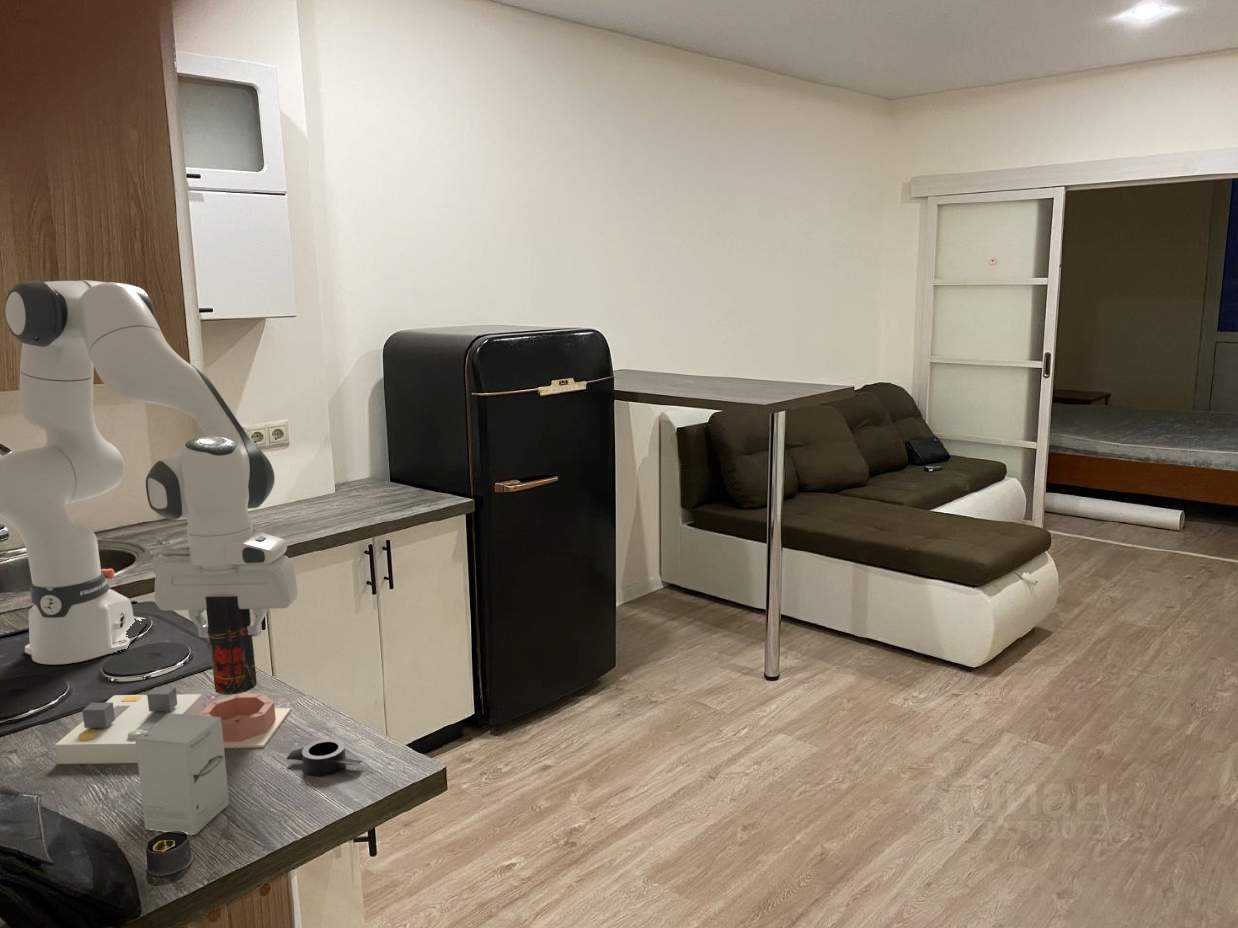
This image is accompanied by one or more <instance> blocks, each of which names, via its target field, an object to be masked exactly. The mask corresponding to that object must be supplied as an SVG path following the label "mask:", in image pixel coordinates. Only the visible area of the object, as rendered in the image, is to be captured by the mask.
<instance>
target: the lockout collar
mask: <svg viewBox="0 0 1238 928" xmlns="http://www.w3.org/2000/svg"><path fill="white" fill-rule="evenodd" d="M275 706H276V705H275V701H274V700H272V699H270V698H269V697H267V696H266V695H265V694H263V693H244V694H243V693H239V694H232V695H230V696H227V697H224V698H221V699H218V700H214V701H211V702H210V703H209V704H208V705H207V706H205V708H203V709H204V710H203V711H202V712H201V713H200V714H199V715H201V716H212V717H221V723H222V732H223V743H224V749H250V748H252V749H253V748H254V749H255V748H257V749H260V748H263V749H264V748H265V746H266V745H267V744H268V743H269V741H270V740H271V739H272V737H273V736H274V734H275V733H276V732H277V730H279V727H280V726H281V725H282V724H283V722H284V721H285V719H286V718H287V717H288V716H289V715H290V713H291V712H292V708H291V707H290V708H289V707H283V708H282V707H276V708H275Z"/></svg>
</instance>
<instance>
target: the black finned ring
mask: <svg viewBox="0 0 1238 928" xmlns="http://www.w3.org/2000/svg"><path fill="white" fill-rule="evenodd" d="M286 760H296V761H300V762H301V761H302V771H303V773H304V774H305V775H306V776H309V777H312V776H313V778H323V777H328V776H332V775H334V774H337V773H339V772H341V771H342V770H343V769H344V768H345V767H346V765H347V766H348V765H350V766H357V765H359V764H361V763H362V762H363V761H362V760H359V759H352V758H347V757H346V745H345V742H344V741H341V740H339V739H336V738H323V739H318V740H314V741H313V742H310V743H309V744H307V745H306V746H304V747H301V748H298V749H294V750H292V751H291V752H290V753H289V754H288V755H287V757H286Z"/></svg>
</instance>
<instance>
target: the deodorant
mask: <svg viewBox="0 0 1238 928" xmlns="http://www.w3.org/2000/svg"><path fill="white" fill-rule="evenodd" d="M206 605H207V610H205V611H206V618H207V619H206V621H207V623H208V629H209V637H208V638H209V646H210V647H209V648H210V654H211V665H212V673H213V682H214V691H215V693H216V694H219V695H223V696H229V695H230V696H233V695H236V694H243V693H246V692H248V691H250V690H252V689H254V688H255V687H256V686H257V684H258V682H257V671H256V661H255V652H254V651H255V650H254V649H255V648H254V639H253V636H248V632H249V631H248V630H247V626H248V625H249V624H250V623H251V622H252V620H251V609H239V606H238V596H230V597H206Z"/></svg>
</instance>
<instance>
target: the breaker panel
mask: <svg viewBox="0 0 1238 928" xmlns="http://www.w3.org/2000/svg"><path fill="white" fill-rule="evenodd" d="M176 696H177V705H176V706H175V707H174V708H173V709H172V710H171V711H149V706H148V697H147V694H119V695H118V694H116V695H115V694H114V695H113V696H112V697H110V698H109V699H108V700H107V701H105V702H104V703H113V708H114V716H115V720H114V721H113V722H112V723H111V724H110V725H109V726H108V727H106V728H85V727H84V720H82V722H80V723H79V724H78V725H77V726H75V727H74V728H73V729H71V731H69V732H68V733H67V734H66V735H65V736H63V737H62V738H61V739H60V740H59V741H58V742H56V743H55V744H54V747H55V748H54V749H55V755H56V761H57V765H75V764H77V765H78V764H79V765H80V764H81V765H82V764H84V765H85V764H88V765H89V764H90V765H91V764H138V759H137V751H136V742H135V739H136V738H138V737H140V736H141V735H142V734H144V733H145V732H147V731H148V730H150V729H151V728H153V727H154V726H156V725H157V724H159V723H160V722H161V721H163V720H164V719H166V718H167V717H169V716H170V715H172V714H174V713H175V714H187V715H199V714H200V713H201V712H202V711H203V710H204V709H205V708H204V701H203V693H198V694H197V693H193V694H189V693H187V694H178V693H176Z"/></svg>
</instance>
